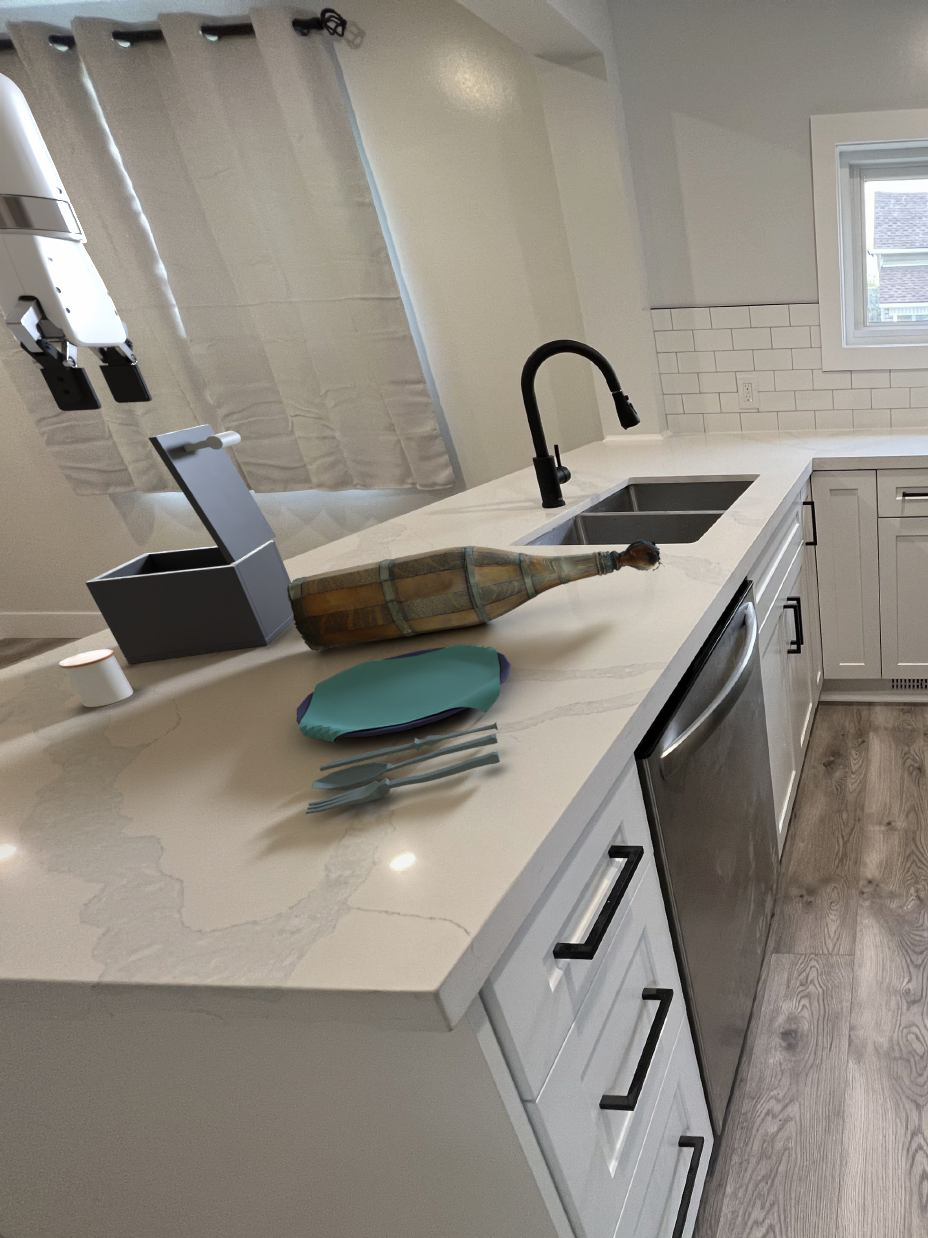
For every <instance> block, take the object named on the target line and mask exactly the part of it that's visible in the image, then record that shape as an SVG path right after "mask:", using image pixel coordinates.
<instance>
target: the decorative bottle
mask: <svg viewBox="0 0 928 1238" xmlns="http://www.w3.org/2000/svg"><path fill="white" fill-rule="evenodd" d="M660 550H661V548H659V547H658V546H657V545H656V542H655V541H654V540H653V541H652V540H649V541H646V540H644V539H638V540H635V541H632V542H631V543H630V544H629V545H628V546H627V547H626V548H625V550H622V551H619V552H618V551H616V550H614V549H613V550H611V551H610V550H607V551H602V550H600V551H594V552H588V553H578V554H566V555H539V554H538V555H537V554H536V555H535V554H529V553H525V552H517V551H512V550H507V549H501V548H496V547H495V548H493V547H487V546H486V547H485V546H477V545H466V546H452V547H446V548H440V549H435V550H430V551H425V552H419V553H415V554H409V555H405V556H400V557H395V558H386V559H385V558H384V559H382V560H379V561H374V562H369V563H363V564H360V565H359V564H358V565H354V566H349V567H345V568H340V569H334V570H331V571H326V572H325V571H324V572H321V573H316V574H313V575H308V576H301V577H297V578H294V579H293V580H291V584H289V585H288V586H287V592H288V597H289V598H288V600H289V601H290V603H291V608H292V612H293V619H294V621H293V623H294V626H295V630H297V632H298V633H299V635H301V636H300V637H301V639H302V640H303V641H304V644H305V645H306V646H307V647H308V649H310V650H311V651H317V652H318V651H319V650H322V649H330V648H335V647H342V646H346V645H347V646H348V645H355V644H363V643H370V642H376V641H384V640H390V639H397V638H404V637H412V636H416V635H422V634H429V633H435V632H441V631H447V630H454V629H459V628H468V627H472V626H477V625H480V624H484V623H489V622H491V621H493V620H496V619H497V618H501V617H502V616H504V615H507V614H508V613H510V612H511V611H514V610H515V609H517V608H519V607H520V606H522V605H524V604H526V603H527V602H529V601H530V600H533V599H535V598H536V597H538V596H539V595H541V594H543V593H545V592H547V591H549V590H551V589H554V588H556V587H559V586H561V585H566V584H569V583H572V582H576V581H580V580H585V579H589V578H593V577H597V576H598V577H602V576H606V575H608V574H612V573H614V571H616V572H619V571H620V570H621V569H622V568H624V567H629V568H633V569H636V570H637V571H642V572H643V571H645V572H648V571H649V570H652V571H653V572H654V571H656V570H658V569H659V567H660V565H663V563H662V562H661V560H662V559H661V557H660V554H661V553H660ZM657 564H658V566H656V565H657ZM655 566H656V568H654V567H655ZM663 567H665V565H663ZM652 568H654V569H652Z"/></svg>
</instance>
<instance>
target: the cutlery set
mask: <svg viewBox="0 0 928 1238" xmlns="http://www.w3.org/2000/svg"><path fill="white" fill-rule="evenodd" d="M511 668H512V666H511V662H510V661H509V660H508V658H507V656H506V655H505V654H503V653H501V652H499V651H498V648H495V647H492V646H485V645H477V644H474V645H473V644H471V643H470V644H469V643H468V644H465V643H460V644H454V645H450V646H444V647H436V648H429V649H423V650H422V649H421V650H415V651H410V652H407V653H403V654H398V655H394V656H390V657H386V658H382V659H375V660H368V661H364V662H361V663H359V664H356V665H354V666H352V667H350V668H347V669H344V670H343V671H340V672H338V673H336V674H334V675H332V676H330V677H328V678H325V679H324V680H321V681H320V682H318V683H316V685H314V689H313V691H312V692H311V693H309V694H308V695H307V696H306V697H305V698H304V699H303V700H302V702H301V703H300V704H299V706H298V707H297V708H296V723H297V724H298V725H299V726H298V730H299V731H300V732H301V734H302V735H303V736H304V737H307V738H309V739H316V740H324V741H326V742H331V743H333V744H334V743H336V741H337V739H338V738H355V737H356V738H357V737H372V736H377V735H384V734H389V733H396V732H401V731H407V730H410V729H414V728H417V727H420V726H423V725H427V724H431V723H435V722H437V721H440V720H442V719H445V718H447V717H449V716H451V715H454V714H457V713H459V712H461V711H463V710H465V709H467V708H471V709H475V710H477V711H480V712H483V713H487V712H488V711H489V710H490V709H491V708H492V706H493V705H494V704H495V703H496V701H497V699H498V697H499V696H500V693H501V692H500V691H501V685H502V684H503V683H504V682H506V680H507V679H508V677H509V674H510V670H511ZM491 730H496V731H499V727H498V723H497V721H495V722H494V723H493V724H488V725H485V726H481V727H477V728H475V729H474V728H473V729H471V730H470V729H469V730H464V731H463V730H462V731H457V732H453V733H449V734H445V735H436V734H435V735H434V734H433V735H427V736H426V737H425V738H423V739H419V738H417V737H414V740H413V742H411V743H406V744H400V745H395V746H389V747H385V748H380V749H375V750H372V751H367V752H363V753H359V754H355V755H351V756H347V757H342V758H339V759H335V760H333V761H330V762H327V763H325V764H323V765H321V766H320V767H319V771H320V772H324V771H328V770H333V769H336V768H341V767H344V766H348V767H346V768H341V769H339V770H336V771H333V772H330V773H327V774H326V775H324V776H322V777H320V778H318V779H316V780H313V781H312V784H311V787H310V788H311V789H316V790H317V789H318V790H327V791H338V790H347V789H348V791H345V792H342V793H340V794H337V795H335V796H331V797H328V798H323V799H321V800H316V801H312V802H308V806H307V807H306V811H305V814H306V815H310V814H317V813H323V812H326V811H329V810H333V809H338V808H341V807H346V806H352V805H357V804H362V803H366V802H370V801H374V800H378V799H380V798H383V797H386V796H387V795H389V794H390V792H391V789H395V788H400V787H404V786H405V787H406V786H411V785H417V784H423V783H428V782H432V781H436V780H441V779H443V778H447V777H450V776H453V775H457V774H458V775H459V774H461V773H464V772H466V771H470V770H473V769H477V768H480V767H485V766H489V765H496V764H498V763H500V762H501V758H500V755H499V752H498V751H497V750H496V751H491V752H489V753H486V754H483V755H479V756H475V757H472V758H469V759H466V760H463V761H460V762H457V763H455V764H452V765H448V766H446V767H443V768H439V769H436V770H433V771H428V772H425V773H421V774H415V775H410V776H405V777H400V778H397V779H392V780H390V779H389V778H388V777H385V778H384V779H382V780H380V781H378V780H376V779H378V778H379V777H381V776H382V775H384V774H386V773H389V772H392V771H396V770H398V769H402V768H405V767H408V766H410V765H414V764H415V765H416V764H418V763H422V762H425V761H429V760H432V759H435V758H438V757H442V756H446V755H450V754H454V753H455V754H456V753H459V752H463V751H467V750H472V749H475V748H480V747H486V746H491V745H492V746H493V745H496V744H498V743H499V742H498V737H497V733H496V732H495V733H491V734H489V735H485V736H482V737H478V738H475V739H471V740H468V741H464V742H460V743H457V744H453V745H450V746H447V747H442V748H439V749H437V750H434V751H432V752H429V753H426V754H423V755H419V756H416V757H413V758H410V759H406V760H404V761H402V762H399V763H396V764H392V763H390V762H381V761H380V762H378V761H374V762H368V763H362V764H361V762H366V761H369V760H374V759H378V758H382V757H386V756H390V755H393V754H398V753H399V754H400V753H403V752H407V751H411V750H415V752H416V753H419V752H420V749H422V748H423V747H429V748H430V747H434V746H435V745H437V744H439V743H441V742H443V741H445V740H450V739H454V738H458V737H462V736H465V735H469V734H475V733H480V732H486V731H491ZM357 763H360V764H357ZM352 764H355V765H352ZM349 765H351V766H349ZM349 789H350V790H349Z"/></svg>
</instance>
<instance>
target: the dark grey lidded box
mask: <svg viewBox="0 0 928 1238" xmlns="http://www.w3.org/2000/svg"><path fill="white" fill-rule="evenodd" d="M280 553H281V552H280V551H279V548H278V545H277V543H276V541H275V540H273V539H271V540H269V541H268V542H266V543H265V544H263V545H261V546H260V547H258V548H257V549H255V550H253V551H252V552H250V553H249V554H247V555H245V556H244V557H242V558H241V559H239V560H237V561H236V562H233V563H228V562H227V560H226V559H225V557H224V556H223V554H222V552H221V551H220V549H219V548H218V546H217V545H215V546H205V547H195V548H185V549H176V550H175V549H174V550H165V551H155V552H145V553H143V554H141V555H139V556H137V557H135V558H133V559H130V560H128V561H126V562H124V563H122V564H121V565H118V566H116V567H114V568H112V569H109V570H108V571H106V572H104V573H102V574H100V575H98V576H96V577H93V578H92V579H89V580H87V581H85V582H84V583H85V586H86V587H87V589H88V591H89V593H90V595H91V597H92V598H93V601H94V602H95V604H96V606H97V608H98V610H99V611H100V613H101V616H102V617H103V619H104V621H105V623H106V625H107V627H108V629H109V630H110V632H111V634H112V636H113V638H114V640H115V642H116V644H117V645H118V647H119V648H120V651H121V653H122V655H123V657H124V658H125V661H126V663H127V664H128V665H133V664H139V663H147V662H154V661H155V662H156V661H161V660H170V659H177V658H184V657H190V656H198V655H204V654H212V653H220V652H227V651H234V650H240V649H241V650H242V649H249V648H256V647H262V646H263V647H264V646H268V645H269V644H271V642H273V641H274V640H275V639H276V638H277V637H278V636H279V635H280V634H281V633H282V632H283V631H284V630H285V629H286V628H288V627H289V626H290V625H291V624H292V623H294V622H295V621H294V619H293V612H292V608H291V603H290V601H289V600H288V598H289V597H288V592H287V586H288V585H289V584H291V583H292V580H291V578H290V576H289V574H288V571H287V568H286V566H285V563H284V561H283V558H282V555H281V554H280Z"/></svg>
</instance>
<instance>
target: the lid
mask: <svg viewBox="0 0 928 1238" xmlns="http://www.w3.org/2000/svg"><path fill="white" fill-rule="evenodd" d="M148 440H149V442H150V444H151V445H152V446H153V448H154V450H155V451H156V453H157V454H158V456H159V458H160V459H161V461H162V462H163V464H164V466H165V467H166V468H167V470H168V471H169V473H170V475H171V477H172V478H173V480H174V481H175V482H176V484H177V486H178V487H179V488H180V490H181V492H182V493H183V495H184V497H185V498H186V500H187V501H188V503H189V504H190V506H191V507H192V509H193V510H194V512H195V514H196V515H197V517H198V518H199V520H200V521H201V523H202V525H203V526H204V527H205V529H206V531H207V532H208V534H209V535H210V537H211V539H212V541H213V542H214V543H215V546H218V548H219V549H220V551H221V552H222V554H223V556H224V557H225V559H226V560H227V562H228V563H233V562H236V561H237V560H239V559H241V558H242V557H244V556H245V555H247V554H249V553H250V552H252V551H253V550H255V549H257V548H258V547H260V546H261V545H263V544H265V543H266V542H268V541H272V540H273V539H274V538H276V537H277V534H276V533H275V531H274V529H273V528H272V527H271V525H270V523H269V522H268V519H267V518H266V517H265V515H264V513H263V511H262V510H261V508H260V506H259V505H258V503H257V502H256V500H255V498H254V496H253V495H252V493H251V491H250V490H249V488H248V486H247V484H246V483H245V481H244V479H243V478H242V476H241V475H240V473H239V472H238V470H237V468H236V466H235V465H234V463H233V461H232V459H231V458H230V455H228V453H227V451H226V449H225V448H228V447H231V446H235V445H238V444H240V443H241V441H242V437H241V435H240V434H239V433H238V432H236V431H233V430H228V431H224V432H220V433H217V434H216V432H215V431H214V429H213V428H212V426H211V424H210V423H207V424H203V425H202V424H201V425H197V426H194V427H189V428H185V429H180V430H175V431H171V432H167V433H163V434H158V435H154V436H149V437H148Z"/></svg>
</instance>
